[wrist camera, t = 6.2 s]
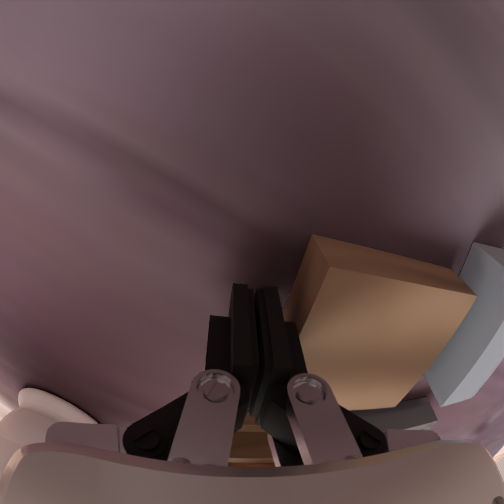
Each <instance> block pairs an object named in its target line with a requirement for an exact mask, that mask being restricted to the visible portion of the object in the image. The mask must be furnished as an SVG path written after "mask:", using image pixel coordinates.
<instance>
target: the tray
mask: <svg viewBox="0 0 504 504" xmlns="http://www.w3.org/2000/svg"><path fill="white" fill-rule="evenodd" d="M349 411H350V412H352V413H354V414H355V415H357V416H359V417H360V418H362V419H364V420H365V421H367V422H369V423H370V424H372V425H374V426H375V427H377V428H378V429H380V430H381V431H382V432H385V431H386V430H387V429H393V430H429V429H430V428H431V427H432V426H433V425H434V424H435V423H436V422H437V421H438V420H437V417H436V415H435V413H434V411H433V409H432V407H431V405H430V403H429V401H428V399H427V397H423V398H418V399H413V400H408V401H402V402H399V403H398V404H397V405H396V406H395V407H389V408H378V409H364V410H349Z"/></svg>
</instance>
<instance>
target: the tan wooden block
mask: <svg viewBox="0 0 504 504" xmlns="http://www.w3.org/2000/svg"><path fill="white" fill-rule="evenodd" d="M476 298H477V295H476V294H475V293H474V292H473V291H472V290H471V289H470V288H469V286H468V285H467V284H466V283H465V282H464V281H463V280H462V279H461V278H460V277H459V276H458V275H457V274H456V273H455V272H454V271H453V270H452V269H450V268H446V267H442V266H439V265H435V264H431V263H428V262H424V261H420V260H416V259H412V258H409V257H405V256H401V255H397V254H393V253H389V252H385V251H381V250H377V249H373V248H369V247H365V246H361V245H357V244H353V243H349V242H344V241H340V240H336V239H332V238H328V237H323V236H319V235H315V234H312V235H311V238H310V240H309V243H308V246H307V249H306V252H305V254H304V257H303V260H302V263H301V265H300V268H299V271H298V273H297V276H296V279H295V281H294V284H293V287H292V289H291V292H290V295H289V297H288V300H287V302H286V305H285V307H284V310H283V317H284V321H287V322H295V324H296V327H297V331H298V335H299V339H300V343H301V347H302V351H303V355H304V359H305V363H306V368H307V372H308V373H310V374H314V375H317V376H319V377H321V378H323V379H324V380H325V381H326V382H327V383H328V384H329V386H330V387H331V389H332V392H333V394H334V396H335V398H336V400H337V402H338V404H339V405H341V406H342V407H344V408H345V409H347V410H364V409H378V408H389V407H395V406H396V405H397V404H398V403H399V402H400V401H401V400H402V399H403V398H404V397H405V395H406V394H407V393H408V392H409V391H410V390H411V389H412V387H413V386H414V385H415V384H416V383H417V382H418V380H419V379H420V378H421V377H422V376H423V374H424V373H425V372H426V371H427V369H428V368H429V367H430V366H431V364H432V363H433V362H434V360H435V359H436V358H437V356H438V355H439V354H440V352H441V351H442V350H443V348H444V347H445V346H446V344H447V343H448V341H449V340H450V339H451V337H452V336H453V334H454V333H455V331H456V330H457V328H458V327H459V325H460V324H461V322H462V321H463V319H464V318H465V316H466V314H467V313H468V311H469V310H470V308H471V306H472V305H473V303H474V301H475V300H476Z"/></svg>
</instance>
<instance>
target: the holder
mask: <svg viewBox="0 0 504 504" xmlns="http://www.w3.org/2000/svg"><path fill="white" fill-rule="evenodd" d="M267 434H268V433H267V432H265V431H264V430H263V429H262V428H261V425H256V424H255V417H250V412H247V415H246V417H245V419H244V422H243V426H242V428H241V429H239V430H238V431H237V432H236V433H234V434H233V439H232V445H231V451H230V456H229V462H236V463H274V459H273V456H272V452H271V449H270V445H269V442H268V437H267ZM275 467H276V466H275Z"/></svg>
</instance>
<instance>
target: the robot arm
mask: <svg viewBox="0 0 504 504" xmlns="http://www.w3.org/2000/svg"><path fill="white" fill-rule="evenodd" d="M248 408H249V411H250V417H255V424H256V425H261V428H262V429H263V430H264V431H265V432H267V433H268V434H267V437H268V442H269V445H270V449H271V452H272V456H273V459H274V463H275V466H276V467H228V462H229V456H230V451H231V445H232V439H233V434H234V433H236V432H237V431H238V430H239V429H241V428H242V426H243V422H244V419H245V417H246V415H247V411H248ZM0 504H504V482H503V479H502V477H501V474H500V472H499V470H498V468H497V466H496V464H495V462H494V460H493V458H492V456H491V455H490V453H489V452H488V450H487V449H486V448H485V447H484V446H483V445H482V444H480V443H479V442H476V441H472V440H468V439H443V440H441V439H440V437H439V436H438V434H437V433H435V432H433V431H431V430H393V429H387V430H386V431H385V432H382V431H381V430H380V429H378V428H377V427H375V426H374V425H372V424H370V423H369V422H367V421H365V420H364V419H362V418H360V417H359V416H357V415H355V414H354V413H352V412H350V411H349V410H347V409H345V408H344V407H342V406H341V405H339V404H338V402H337V400H336V398H335V396H334V394H333V392H332V389H331V387H330V386H329V384H328V383H327V382H326V381H325V380H324V379H323V378H321V377H319V376H317V375H314V374H310V373H308V372H307V368H306V363H305V359H304V355H303V351H302V347H301V343H300V339H299V335H298V331H297V327H296V324H295V322H287V321H284V317H283V312H282V307H281V303H280V298H279V293H278V289H277V287H268V286H262V289H261V290H259V289H257V290H256V294H255V299H254V297H253V289H249V288H248V285H246V284H236V283H233V286H232V293H231V301H230V308H229V316H228V317H222V316H212V315H210V322H209V332H208V343H207V354H206V365H205V371H203V372H200V373H199V374H197V375H196V376H195V377H194V379H193V381H192V383H191V386H190V389H189V392H187V393H186V394H184V395H182V396H181V397H179V398H177V399H176V400H174V401H172V402H170V403H169V404H167V405H165V406H164V407H162V408H160V409H158V410H157V411H155V412H153V413H151V414H149V415H148V416H146V417H144V418H142V419H140V420H139V421H137V422H135V423H133V424H132V425H130V426H129V427H118V425H117V424H90V423H75V422H57V423H54V424H52V425H51V426H50V427H49V428H48V430H47V433H46V437H45V442H41V443H34V444H29V445H26V446H23V447H21V448H19V449H18V450H17V451H16V452H15V453H14V454H13V455H12V457H11V458H10V460H9V462H8V463H7V465H6V467H5V469H4V472H3V474H2V477H1V479H0Z"/></svg>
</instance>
